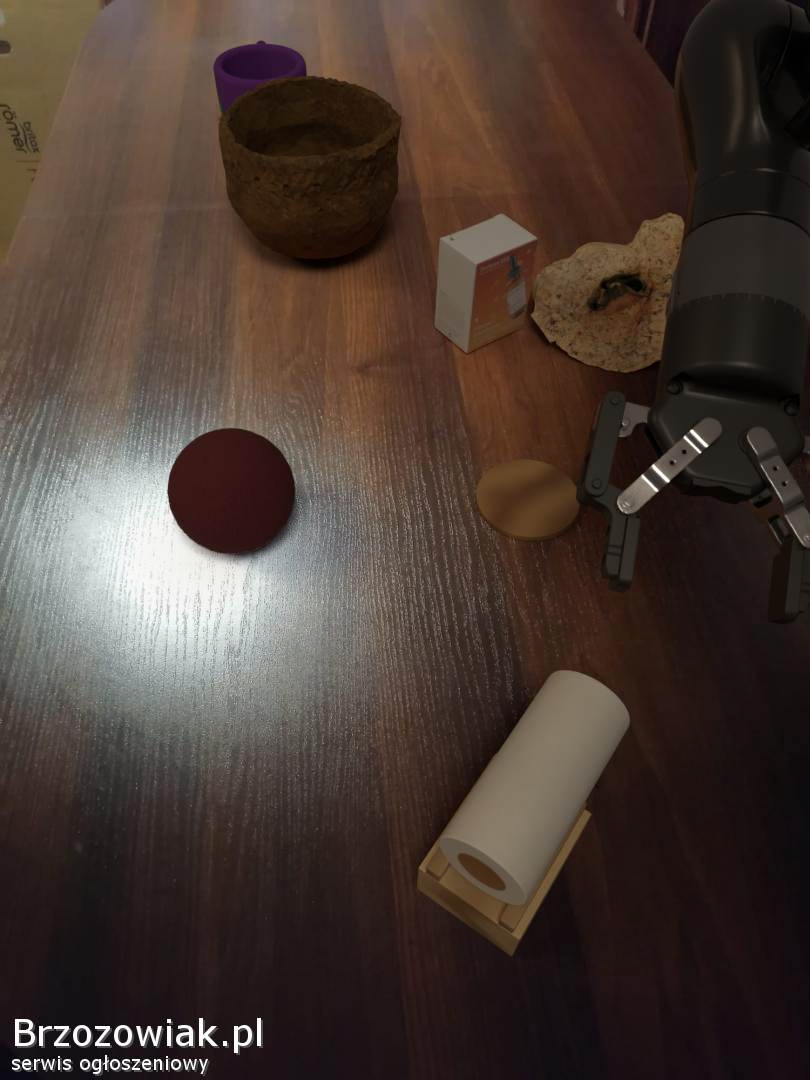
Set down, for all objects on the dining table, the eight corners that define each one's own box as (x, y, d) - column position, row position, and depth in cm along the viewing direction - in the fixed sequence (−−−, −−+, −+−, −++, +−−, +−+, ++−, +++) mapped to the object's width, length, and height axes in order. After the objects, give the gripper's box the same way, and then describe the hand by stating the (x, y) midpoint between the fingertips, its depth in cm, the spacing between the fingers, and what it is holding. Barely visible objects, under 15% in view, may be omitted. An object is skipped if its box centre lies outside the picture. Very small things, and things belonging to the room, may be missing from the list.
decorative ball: (304, 487, 76) (295, 402, 68) (295, 579, 69) (284, 497, 62) (190, 485, 75) (167, 400, 68) (171, 578, 69) (143, 496, 61)
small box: (466, 356, 87) (474, 265, 79) (432, 327, 90) (437, 237, 81) (526, 327, 90) (540, 237, 82) (491, 300, 93) (502, 210, 84)
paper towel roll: (619, 745, 56) (640, 703, 52) (519, 918, 50) (532, 887, 45) (542, 699, 58) (555, 655, 54) (435, 859, 52) (440, 824, 47)
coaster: (596, 492, 76) (598, 487, 75) (547, 558, 71) (548, 553, 71) (508, 449, 79) (509, 444, 78) (455, 510, 74) (456, 505, 74)
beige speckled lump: (590, 423, 90) (591, 393, 83) (517, 323, 95) (512, 285, 88) (738, 332, 90) (752, 293, 82) (657, 235, 94) (664, 190, 87)
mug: (312, 162, 110) (306, 81, 102) (222, 165, 109) (210, 83, 102) (309, 99, 121) (303, 21, 113) (227, 101, 120) (216, 23, 112)
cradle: (580, 836, 57) (595, 807, 53) (511, 956, 52) (521, 935, 48) (490, 777, 59) (497, 746, 55) (416, 888, 55) (418, 862, 51)
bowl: (400, 295, 93) (402, 162, 81) (226, 293, 93) (203, 159, 81) (399, 201, 105) (401, 73, 93) (245, 199, 104) (227, 70, 93)
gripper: (627, 265, 45) (580, 567, 41) (901, 315, 44) (876, 624, 41) (594, 329, 52) (552, 591, 49) (829, 373, 52) (803, 639, 48)
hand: (700, 606), depth 45 cm, fingers open, 8 cm apart
